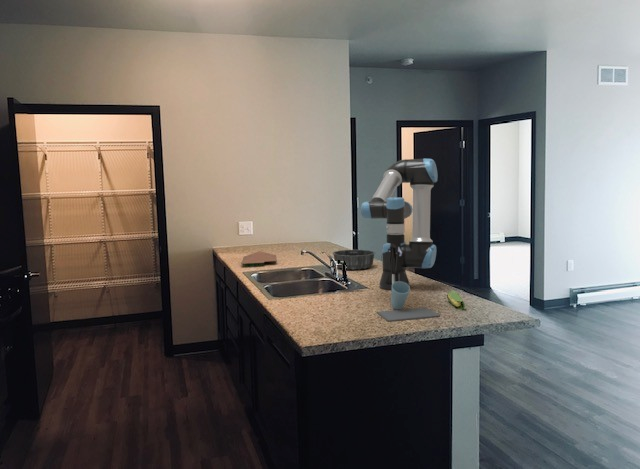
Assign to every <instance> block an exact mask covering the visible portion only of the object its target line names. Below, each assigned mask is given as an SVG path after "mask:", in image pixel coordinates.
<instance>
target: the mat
mask: <svg viewBox="0 0 640 469" xmlns="http://www.w3.org/2000/svg"><path fill="white" fill-rule="evenodd" d="M376 314H378V316H380V317H381V318H382V319H384V320H385V321H386V322H388V323H389V322H400V321H410V320H421V319H433V318H440V317H441V315H440V314H438V313H436V312H435V311H433V310H431V309H429V308H428V307H416V308H402V309H399V310H398V309H392V310H380V311H376Z"/></svg>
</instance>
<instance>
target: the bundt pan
mask: <svg viewBox="0 0 640 469" xmlns="http://www.w3.org/2000/svg"><path fill="white" fill-rule="evenodd" d="M332 254H333V259H334V262H335V261H338V260H340V261H346V264H347V268H346V269H345V270H347V271H350V270H351V271H352V270H353V271H355V270H358V271H360V270H367V269H369V268H371V267H372V266H373V264H374V259H375V255H376V252H375V251H374V250H368V249H367V250H366V249H343V250H337V251H336V250H335V251H333V252H332ZM337 268H338V269H340V268H342V265H338V267H337Z"/></svg>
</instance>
